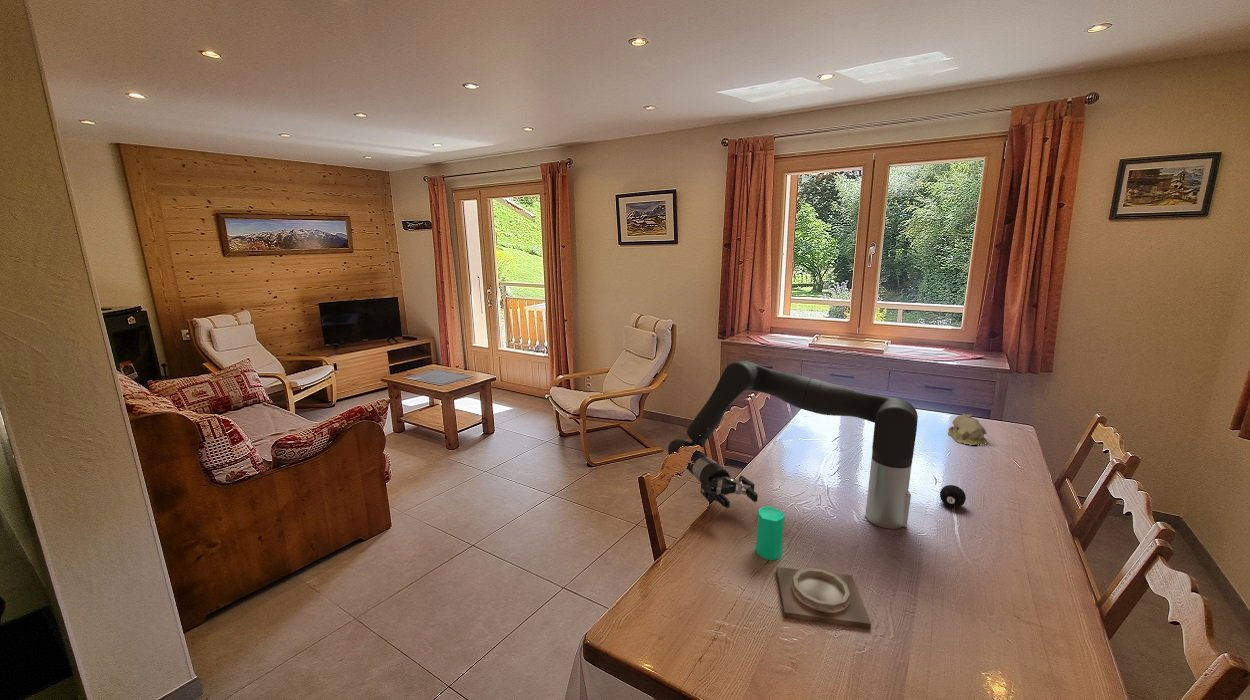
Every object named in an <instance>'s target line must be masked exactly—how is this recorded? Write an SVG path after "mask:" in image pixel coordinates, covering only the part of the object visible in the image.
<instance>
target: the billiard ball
mask: <svg viewBox="0 0 1250 700" xmlns="http://www.w3.org/2000/svg"><path fill="white" fill-rule="evenodd" d="M939 497H940V500H941V502H942V503H943V504H944V505H946V506H948V507H950V508H960V507H962V506H963V505H964V504H965V503H966V498H967V495H966V493H965V491H964V490H963V489H962V487H961V488H960V487H959V486H957V485H954V484H952V485H951V484H947V485H944V486H943V487H942V488H941V490H940V491H939Z"/></svg>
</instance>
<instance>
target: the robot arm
mask: <svg viewBox="0 0 1250 700" xmlns="http://www.w3.org/2000/svg"><path fill="white" fill-rule="evenodd" d="M746 391H752V392H759V393H763V394H768V395H771V396H773V397H775V398H777V399H779V400H782V401H783V402H785V403H786V404H789V405H790V406H793V407H795V408H798V409H801V410H804V411H807V412H811V413H814V414H816V415H817V414H819V415H823V416H831V417H832V416H836V417H851V418H852V417H853V418H858V419H862V420H865V421H868V422H871V423H874V425H873V426H874V428H873V436H872V437H873V438H872V445H871V446H872V447H871V449H872V451H871V459H870V460H871V462H870V468H869V469H870V470H869V478H868V479H869V480H868V485H867V486H868V489H867V497H866V503H865V506H866V507H865V514H864V515H865V518H866V520H867V521H869V522H870V523H872V524H873V525H875V526H878V527H880V528H883V529H890V530H891V529H892V530H893V529H894V530H896V529H897V530H898V529H901V528H907V527H908V521H909V520H908V519H909V513H910V512H909V511H910V507H911V498H912V497H911V496H912V494H911V492H910V491H909V488H910V480H911V472H912V465H913V459H914V454H915V453H914V451H915V444H916V436H917V430H918V418H919V416H918V412H917V409H916V408H915V406H913V404H911V403H910V402H909V401H907V400H904V399H901V398H896V397H890V396H884V395H878V394H872V393H867V392H864V391H863V392H862V391H858V390H855V389H852V388H849V387H845V386H842V385H838V384H834V383H831V382H827V381H825V380H820V379H815V378H812V377H808V376H803V375H799V374H794V373H787V372H783V371H778V370H774V369H770V368H768V367H765V366H763V365H762V366H761V365H759V364H756V363H754V362H752V361H749V360H738V361H733V362H731V363H729V364H727V365H726V367H725V368H724V370H723V372H722V374H721V376H720V378H719V380H718V381H717V384H716V386H715V388H714V390H713V392H712V393H711V395H710V397H708V400H707V401H706V402H705V404H704V405H703V406H702V408H701V410H699V412H698V413H697V414H696V416H695V418H693V421H691V423H690V425H689V426H688V427H687V430H686V435H687V436H688V438H689V439H690V440H691V441H687V440H684V439H681V438H674V439H672V440H671V441H670V442H669V444H668V446H667V453H668V456H669V455H670V454H672V453H674V452H676V451H677V450H678V449H679V448H680V447H682V446H693V445H695V444H697V445H700V446H701V447H704V448H705V445H706V443H707V442H708V439H709V438H710V437H711V436H712V434H713V433H714V431H715V430H716V428H718V425H719V424H720V422H721V420H722V418H723V416H724V414H725V413H726V410H727V409H728V408H729V406H730V405H731V404H732V403H733V402H734V401H735V400H736V399H737V398H738V397H739V396H740V395H741V394H742V393H744V392H746ZM708 428H709V429H708ZM707 429H708V430H707ZM699 435H701V436H700V437H699ZM691 461H693V462H692V463H694V464H692V465H690V464H691V463H688V466H687V468H685V469H686V470H687V471H688V472H689V473H691V474H692V475H693V476H694V477H695V479H696V481H698V482H699V483H700V494H701V495H702V496H703V497H704V498H705V499H706V500H707V501H708V502H709V503H713V502H714V501H715V502H716V503H719V504H720V505H721V506H722V507H724V508H725V509H730V507H731V501H730V499H728V497H726V495H729V494H731V495H732V494H735V495H738V496H739V495H744V496H746V497H748V499H750V500H751V501H752V502H753V503H756V502H758V499H759V498H758V497H759V496H758V495H759V494H758V493H757V492H756V491H755V483H754V482H752V481H750V479H748V478H746V477H745V476H744V475H739V476H738V477H739V478H737V479H735V478H734V477H731V475H730V473H729V472H728V471H727V470H726V468H724V467H723V466H721V465H720V464H719V463H717V461H715V460H713V459H712V458H710V457H708V455H706V454H705V453H704V452H703V451H702V452H700V451H697V450H696V451H695V452H694V453H693V455H692V457H691ZM737 486H738V488H737ZM737 489H738V490H737ZM743 489H745V490H743Z"/></svg>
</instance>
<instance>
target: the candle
mask: <svg viewBox="0 0 1250 700" xmlns="http://www.w3.org/2000/svg"><path fill="white" fill-rule="evenodd" d="M784 528H785V513H784V512H782V510H780V509H777V508H775V507H773V506H770V505H769V506H768V505H765V506H761V507H760V508H759V509H758V515H757V531H756V532H757V533H756V547H755V548H756V549H755V550H756V553H757V555H758V556H759V557H761V558H763V559H765V560H770V561H771V560H772V561H775V560H778V559H780V558H781V557H782V555H783V545H784V544H783V542H784V532H785V531H784V530H785V529H784Z"/></svg>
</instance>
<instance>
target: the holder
mask: <svg viewBox="0 0 1250 700" xmlns="http://www.w3.org/2000/svg"><path fill="white" fill-rule="evenodd" d="M775 571H776V577H777V582H778V588H779V594H780V595H779V596H780V600H781V605H782V612H783V617H784V618H786V619H792V620H793V619H794V620H800V621H801V620H802V621H809V622H815V623H821V624H822V623H823V624H829V625H831V624H832V625H836V626H837V625H838V626H844V627H852V628H853V627H854V628H861V629H868V630H871V628H872V621H871V619H870V617H869V615H868V612H867V610H866V607H865V605H864V601H863V600H862V597H861V594H860V592H859V590H858V587H857V585H856V582H855V580H854V577H853V575H851V574H842V573H833V572H829V571H827V570H825V569H822V568H820V569H819V568H815V567H814V568H812V567H808V568H803V569H799V568H789V567H784V566H783V567H781V566H776V570H775Z"/></svg>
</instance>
